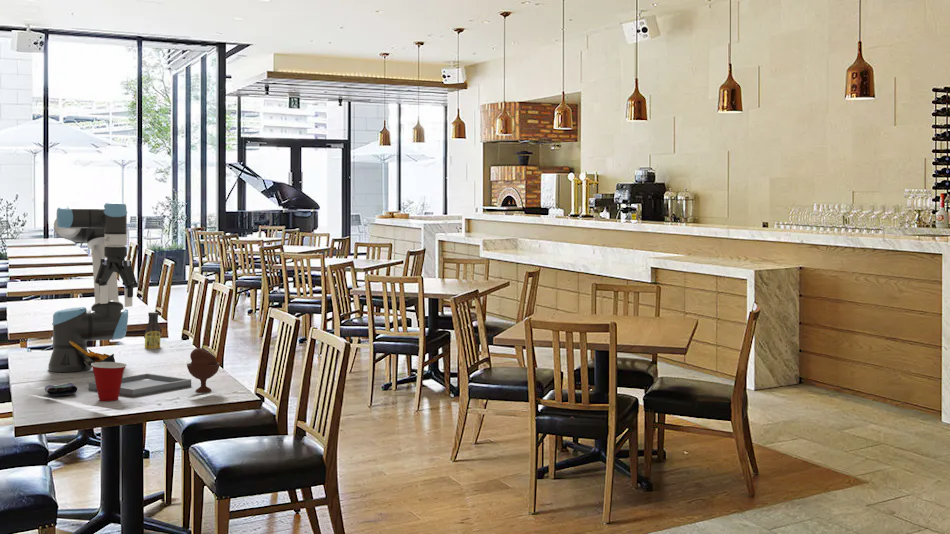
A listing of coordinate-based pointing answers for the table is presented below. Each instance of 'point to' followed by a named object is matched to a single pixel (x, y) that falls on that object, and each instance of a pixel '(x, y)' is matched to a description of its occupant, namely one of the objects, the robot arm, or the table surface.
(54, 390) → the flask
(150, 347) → the sauce bottle
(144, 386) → the tray
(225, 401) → the table surface
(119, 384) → the plastic cup
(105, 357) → the fried shrimp in bowl
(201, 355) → the ice cream bowl
